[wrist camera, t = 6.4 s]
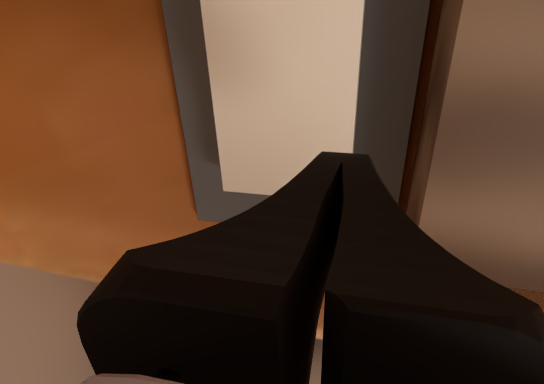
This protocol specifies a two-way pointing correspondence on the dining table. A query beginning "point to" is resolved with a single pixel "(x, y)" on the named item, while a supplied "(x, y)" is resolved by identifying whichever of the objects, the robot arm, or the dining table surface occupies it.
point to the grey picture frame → (370, 105)
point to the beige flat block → (281, 85)
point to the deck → (485, 140)
